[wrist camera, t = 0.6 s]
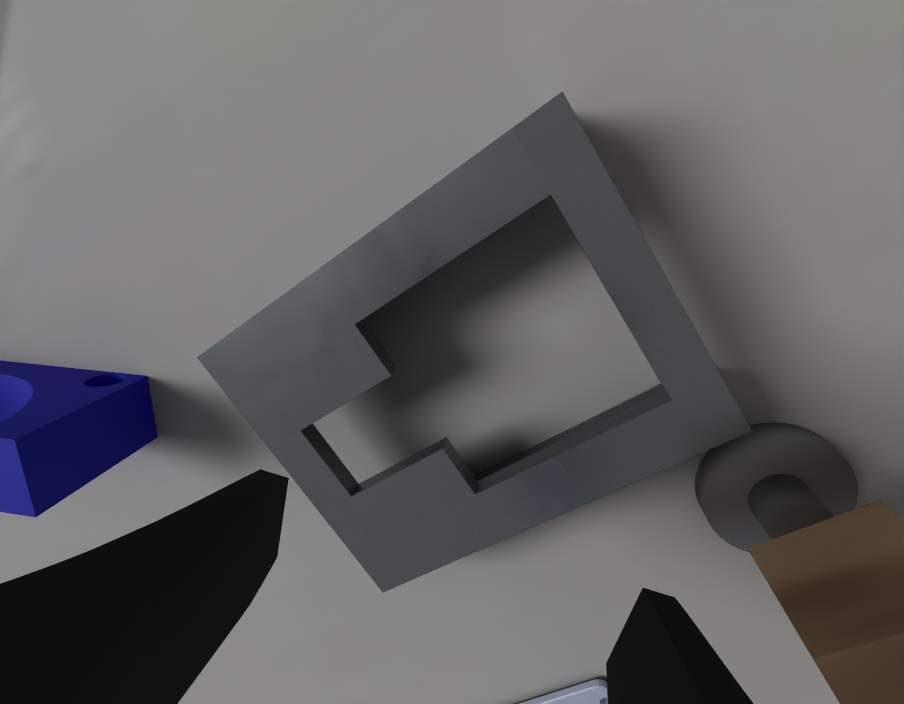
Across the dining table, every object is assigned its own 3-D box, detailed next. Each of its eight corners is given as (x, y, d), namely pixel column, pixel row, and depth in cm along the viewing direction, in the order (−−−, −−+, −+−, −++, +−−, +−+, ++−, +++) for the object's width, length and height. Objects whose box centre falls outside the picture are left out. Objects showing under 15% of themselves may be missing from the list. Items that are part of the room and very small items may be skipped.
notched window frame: (712, 387, 18) (751, 430, 14) (404, 533, 22) (382, 592, 19) (556, 111, 16) (562, 91, 12) (251, 330, 20) (197, 357, 17)
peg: (863, 506, 18) (1106, 739, 10) (729, 555, 20) (857, 791, 12) (806, 399, 17) (1027, 567, 10) (671, 459, 19) (768, 646, 11)
